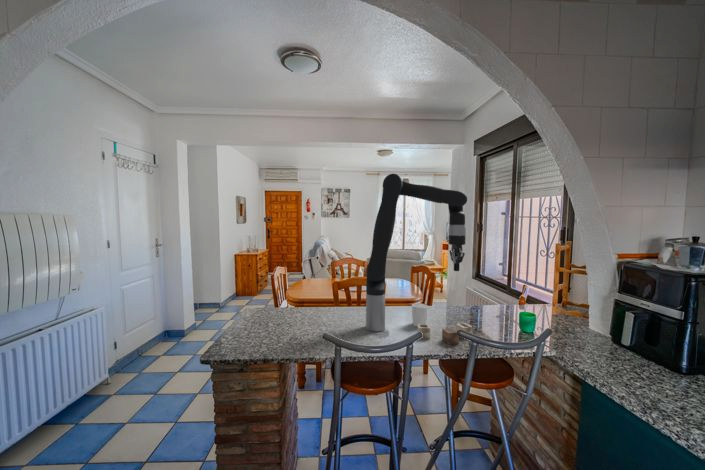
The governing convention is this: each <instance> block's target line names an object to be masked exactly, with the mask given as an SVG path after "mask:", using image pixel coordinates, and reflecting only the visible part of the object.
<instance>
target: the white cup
mask: <svg viewBox="0 0 705 470" xmlns="http://www.w3.org/2000/svg"><path fill="white" fill-rule="evenodd" d="M428 312H429V309H428V305H427V304H425V303H419V302H418V303H413V304H411V315H412V316H411V317H412V319H411V320H412V325H413V327H414V326H415V327H417V324H427V320H428Z"/></svg>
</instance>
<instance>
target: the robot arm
mask: <svg viewBox="0 0 705 470" xmlns="http://www.w3.org/2000/svg"><path fill="white" fill-rule="evenodd" d="M382 181H383V182H382V195H381V196H382V197H381V201H380V202H381V203H380V206H379V208H378V212H377V214H376V215H377V216H376V219H375V223H374V226H373V227H374V228H373V236H372V245H371V247H372V249H371V254H370V258H369V261H368V264H367V265H366V272H365V273H366V282H365V283H366V287H365V288H366V289H365V290H366V294H365V295H366V297H365V299H366V300H365V302H366V304H365V329H366V331H370V332H375V333H377V332H378V333H379V332H382V331H384V330H385V329H386V268H387V267H386V266H387V259H388V258H387V256H388V252H389V248H390V246H391V242H392V239H393V235H394V229H395V225H396V224H395V223H396V214H397V205H398V201H399V196H406V197H411V198H417V199H420V200H423V201H427V202H432V203H435V204H446V205H447V206H448V212H449V214H448V215H449V219H448V220H449V222H448V223H449V225H448V241H447V243H448V245H451V248H450V250H449V251H448V252H449V255H450V260H451V262H452V263H453V271H454V272H459V271H460V263H462V262H463V259H464V257H465V254H466V252H463V246H465V245H466V215H465V213H464V206H465V205H466V204H467V202H468V196H467V194H466V193H464V192H462V191H459V190H453V189H444V188H441V187H436V186H432V185H427V184H426V185H425V184H414V183H410V182H408V181H407V182H406V181H404V180H402V178H401V176H400V175H399V174H397V173H390V174H387V176H385V177H384V179H383V180H382Z"/></svg>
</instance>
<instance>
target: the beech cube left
mask: <svg viewBox="0 0 705 470" xmlns="http://www.w3.org/2000/svg"><path fill="white" fill-rule="evenodd" d="M416 328H417V332H419V331H420V332H422V333H423V338H421V340H422V339H424V340H426V339H428V340H430V339H431V327H430V325H429V324H427V323H426V324H417V326H416ZM417 332H416V333H417Z"/></svg>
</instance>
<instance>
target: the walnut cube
mask: <svg viewBox="0 0 705 470" xmlns="http://www.w3.org/2000/svg"><path fill="white" fill-rule="evenodd" d="M441 330H442V331H441V340H442V341H443V342H444V343H445V344H447V345H458V344H460V336H458V335H457V331H456V328H453V327H452V328H451V327H450V328H442V329H441Z"/></svg>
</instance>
